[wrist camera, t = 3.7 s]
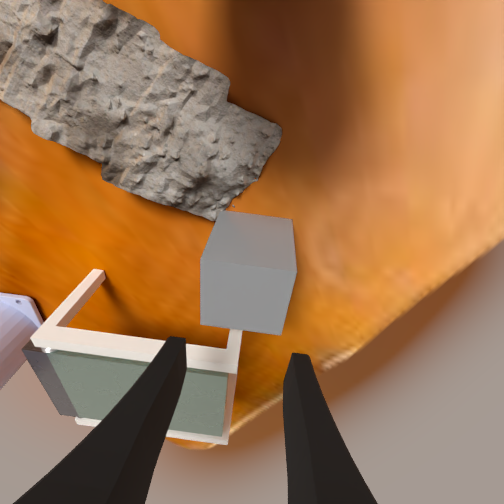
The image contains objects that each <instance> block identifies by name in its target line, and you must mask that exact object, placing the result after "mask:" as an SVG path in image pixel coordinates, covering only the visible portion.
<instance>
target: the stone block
mask: <svg viewBox="0 0 504 504" xmlns="http://www.w3.org/2000/svg"><path fill="white" fill-rule="evenodd" d="M296 274H297V266H296V255H295V245H294V234H293V223H292V219H286V218H279V217H271V216H264V215H256V214H248V213H241V212H233V211H226V210H225V211H222V212H220V213H219V215H218V217H217V220H216V222H215V225H214V227H213V230H212V232H211V234H210V237H209V239H208V242H207V244H206V247H205V249H204V252H203V254H202V256H201V259H200V325H207V326H215V327H222V328H230V329H237V330H244V331H252V332H259V333H267V334H274V335H281V333H282V329H283V326H284V322H285V318H286V314H287V310H288V306H289V302H290V298H291V294H292V290H293V286H294V282H295V278H296Z"/></svg>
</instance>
